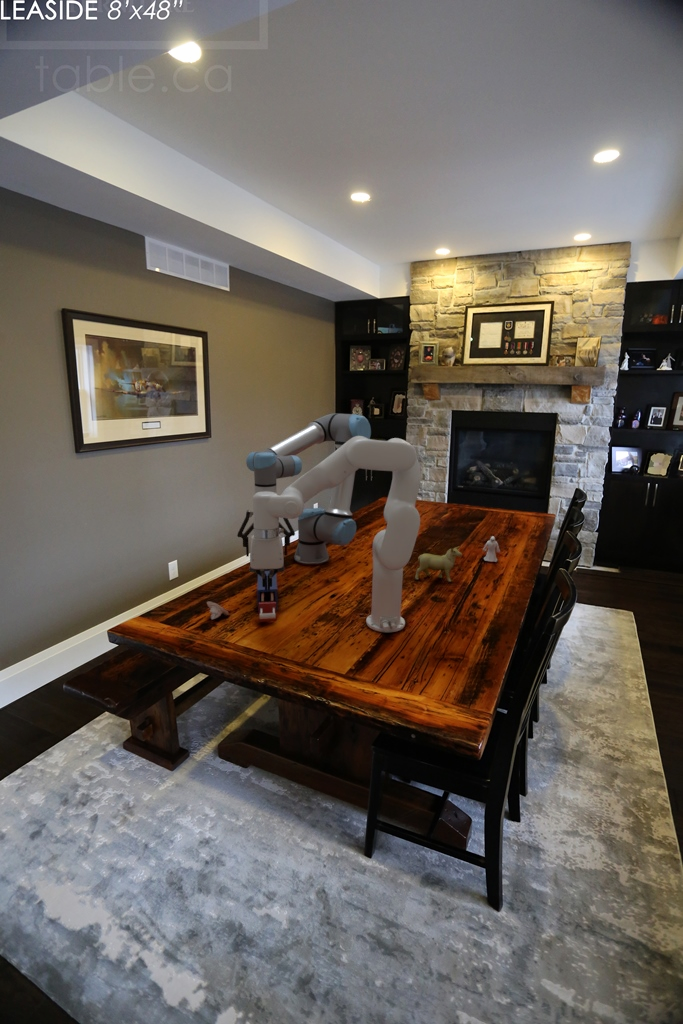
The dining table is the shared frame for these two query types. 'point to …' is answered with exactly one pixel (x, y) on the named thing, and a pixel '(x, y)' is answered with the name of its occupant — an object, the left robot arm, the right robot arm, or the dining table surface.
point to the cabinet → (267, 588)
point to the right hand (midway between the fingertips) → (267, 588)
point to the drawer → (267, 607)
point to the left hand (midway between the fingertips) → (266, 554)
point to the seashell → (216, 610)
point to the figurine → (491, 550)
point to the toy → (438, 563)
